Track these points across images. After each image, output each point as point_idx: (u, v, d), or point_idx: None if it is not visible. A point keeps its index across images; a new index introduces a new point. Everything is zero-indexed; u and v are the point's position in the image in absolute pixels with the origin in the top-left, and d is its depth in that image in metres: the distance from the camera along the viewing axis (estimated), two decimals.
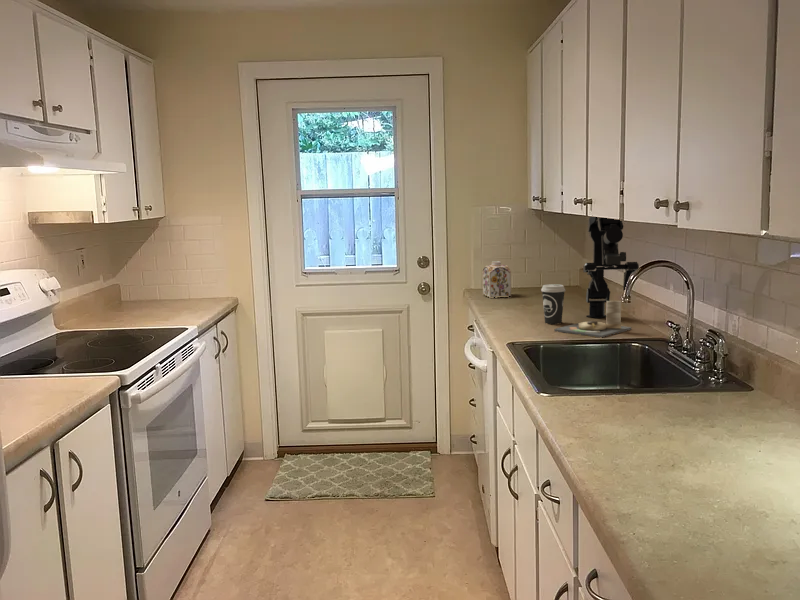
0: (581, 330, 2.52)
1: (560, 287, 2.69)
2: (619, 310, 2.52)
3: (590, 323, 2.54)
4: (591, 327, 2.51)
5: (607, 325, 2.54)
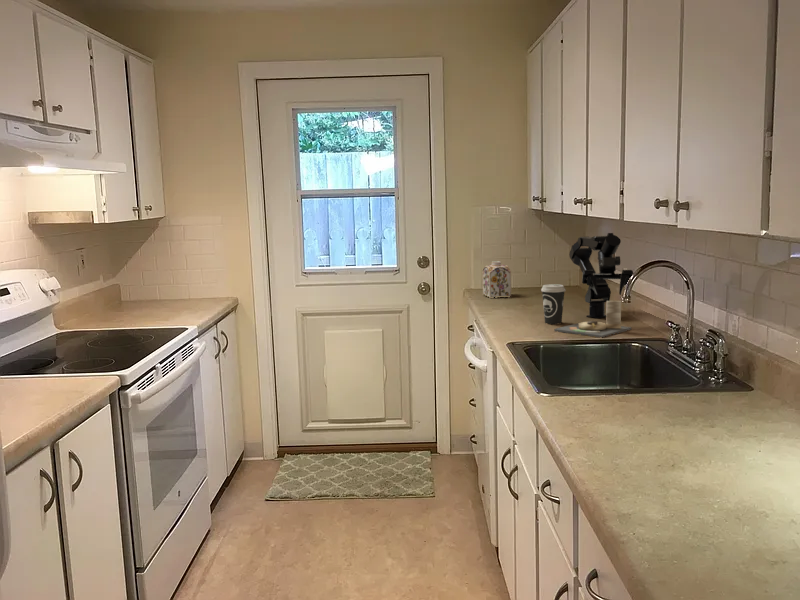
0: (581, 330, 2.52)
1: (560, 287, 2.69)
2: (619, 310, 2.52)
3: (590, 323, 2.54)
4: (591, 327, 2.51)
5: (607, 325, 2.54)
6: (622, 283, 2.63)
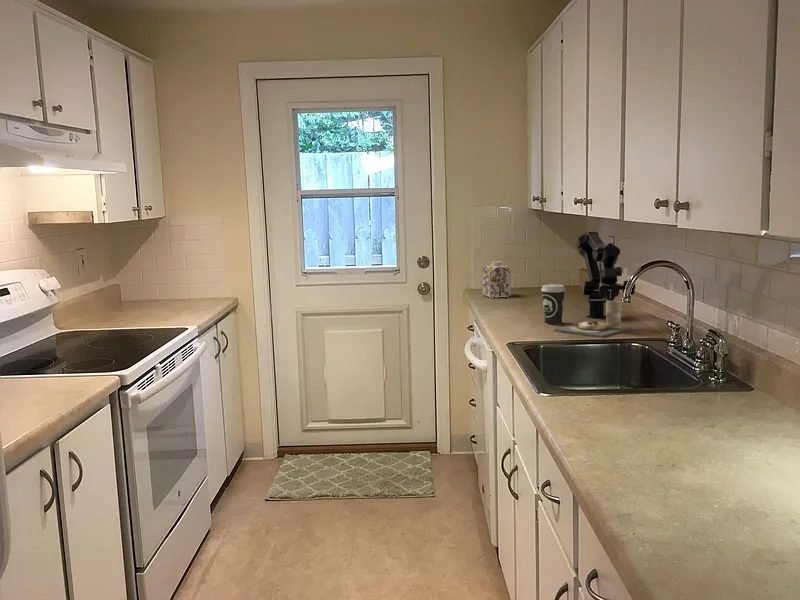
0: (581, 330, 2.52)
1: (560, 287, 2.69)
2: (619, 310, 2.52)
3: (590, 323, 2.54)
4: (591, 327, 2.51)
5: (607, 325, 2.54)
6: (613, 294, 2.59)
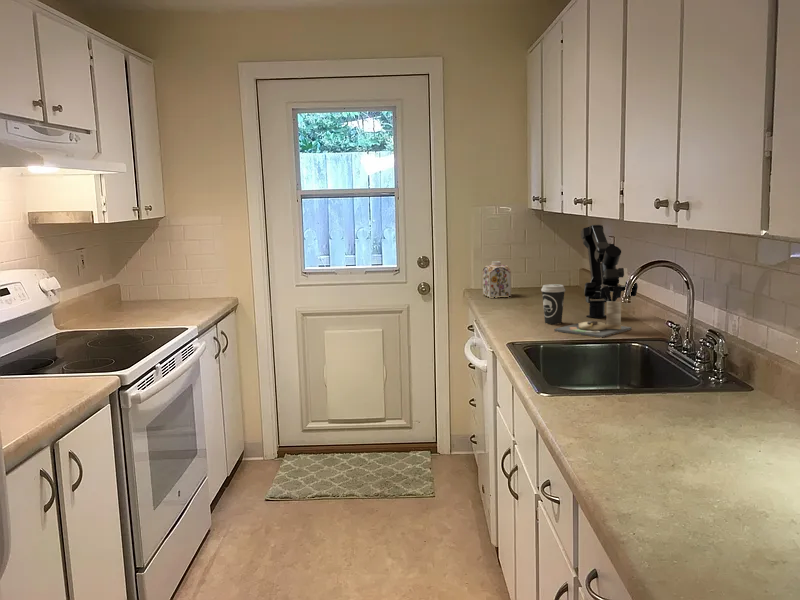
0: (581, 330, 2.52)
1: (560, 287, 2.69)
2: (619, 311, 2.51)
3: (589, 323, 2.54)
4: (588, 327, 2.51)
5: (607, 325, 2.53)
6: (615, 296, 2.54)
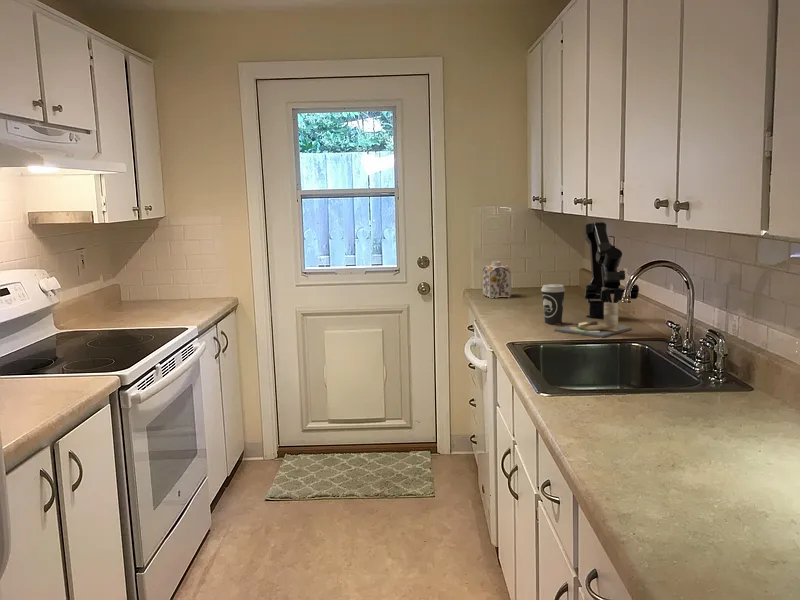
0: (581, 330, 2.52)
1: (560, 287, 2.69)
2: (614, 313, 2.48)
3: (588, 323, 2.55)
4: (583, 326, 2.53)
5: (603, 326, 2.51)
6: (616, 299, 2.51)
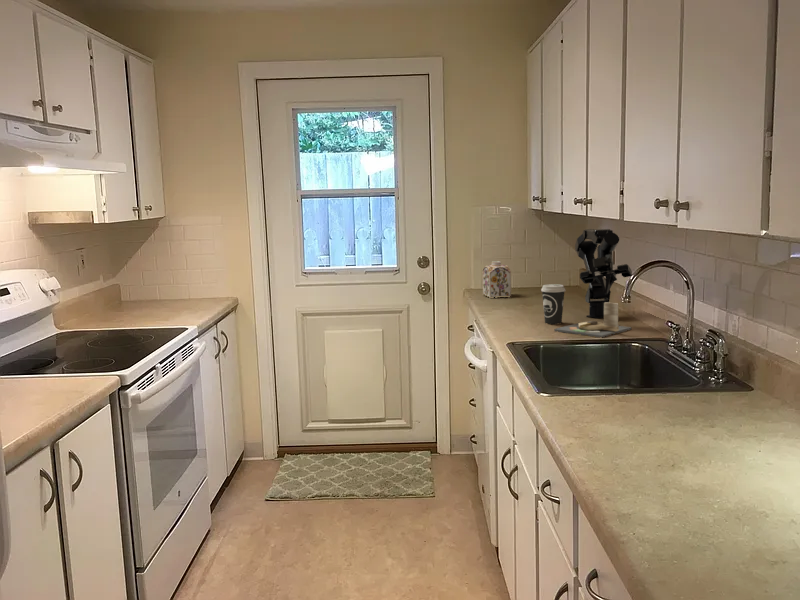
0: (581, 330, 2.52)
1: (560, 287, 2.69)
2: (614, 313, 2.48)
3: (588, 323, 2.55)
4: (583, 326, 2.53)
5: (603, 326, 2.51)
6: (607, 282, 2.63)
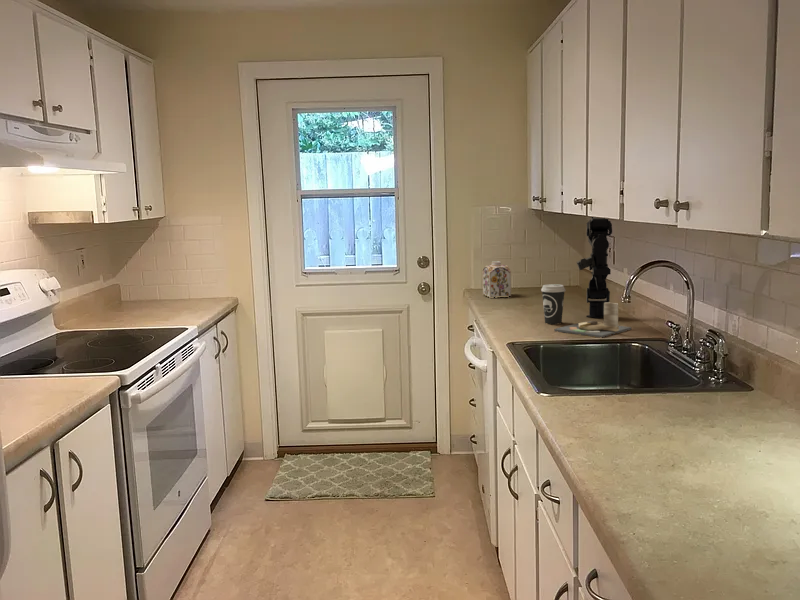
0: (581, 330, 2.52)
1: (560, 287, 2.69)
2: (614, 313, 2.48)
3: (588, 323, 2.55)
4: (583, 326, 2.53)
5: (603, 326, 2.51)
6: (596, 280, 2.66)
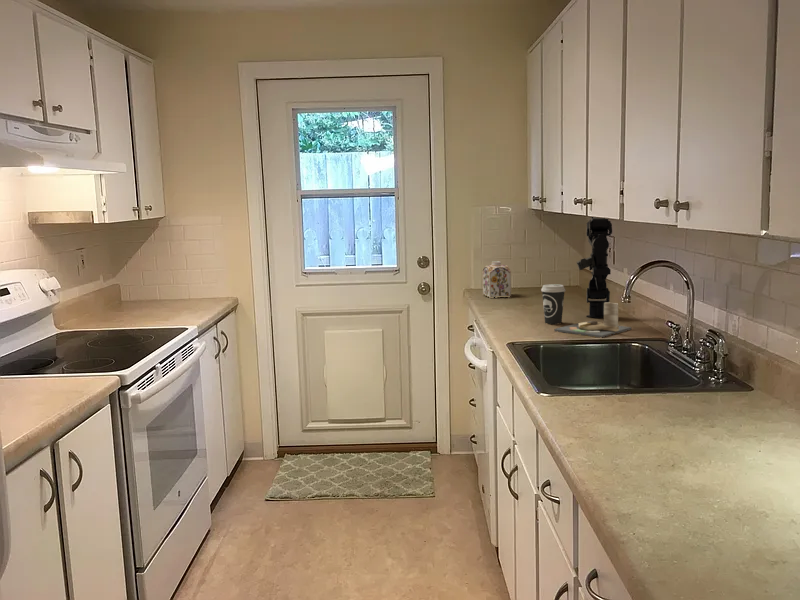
0: (581, 330, 2.52)
1: (560, 287, 2.69)
2: (614, 313, 2.48)
3: (588, 323, 2.55)
4: (583, 326, 2.53)
5: (603, 326, 2.51)
6: (596, 280, 2.66)
